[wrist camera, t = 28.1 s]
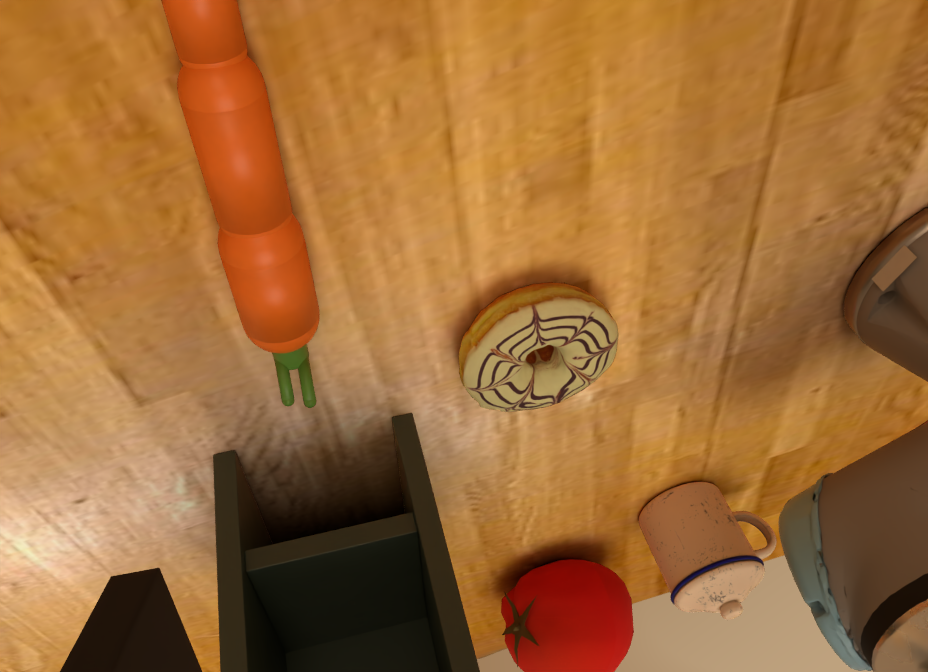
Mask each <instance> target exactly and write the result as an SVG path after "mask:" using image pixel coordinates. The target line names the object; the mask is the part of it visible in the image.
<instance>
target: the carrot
mask: <svg viewBox="0 0 928 672" xmlns="http://www.w3.org/2000/svg"><path fill="white" fill-rule="evenodd" d="M161 1H162V4H163V7H164V11H165V14H166V17H167V21H168V24H169V28H170V31H171V34H172V38H173V41H174V44H175V48H176V51H177V54H178V57H179V59H180V62H181V63H182V65H183V66H182V67H181V69H180V72H179V76H178V81H177V90H178V95H179V100H180V103H181V107H182V110H183V113H184V116H185V119H186V123H187V126H188V129H189V132H190V136H191V139H192V142H193V145H194V148H195V152H196V155H197V158H198V161H199V165H200V168H201V171H202V174H203V178H204V181H205V184H206V187H207V190H208V194H209V197H210V200H211V203H212V207H213V210H214V213H215V216H216V219H217V222H218V224H219V227H220V229H219V232H218V248H219V253H220V257H221V260H222V263H223V266H224V269H225V272H226V275H227V278H228V282H229V285H230V288H231V291H232V294H233V297H234V300H235V303H236V307H237V310H238V313H239V316H240V319H241V322H242V325H243V328H244V330H245V332H246V334H247V336H248V337H249V338H250V340H251V341H252V342H253V343H254V344H255V345H257V346H258V347H260V348H262V349H263V350H266V351H268V352H272V354H273V357H274V361H275V366H276V371H277V377H278V382H279V388H280V393H281V399H282V403H283V404H284V405H285V406H291V405H292V404H293V403H294V395H293V389H292V384H291V378H290V373H289V370H294V369H297V368H298V372H299V378H300V383H301V389H302V395H303V401H304V405H305V406H306V407H308V408H312V407H314V406H315V404H316V397H315V391H314V386H313V380H312V374H311V369H310V363H309V352H308V348H307V343H308V342H309V341H310V340H311V339H312V337H313V336H314V334H315V332H316V330H317V327H318V323H319V306H318V302H317V297H316V292H315V287H314V282H313V278H312V273H311V268H310V263H309V258H308V254H307V249H306V244H305V239H304V235H303V232H302V229H301V226H300V224H299V222H298V221H297V219H296V218H295V216H294V215H293V214H292V208H291V202H290V197H289V193H288V188H287V183H286V179H285V174H284V169H283V165H282V160H281V156H280V151H279V146H278V142H277V137H276V132H275V128H274V123H273V118H272V114H271V109H270V105H269V100H268V95H267V91H266V86H265V82H264V80H263V77H262V74H261V72H260V70H259V69H258V67H257V66H256V65H255V63H254V62H253V61H252V60H251V59H250V58H249V57H248V56H247V43H246V39H245V34H244V30H243V25H242V21H241V16H240V12H239V8H238V3H237V0H161Z"/></svg>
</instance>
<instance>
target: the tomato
mask: <svg viewBox="0 0 928 672" xmlns="http://www.w3.org/2000/svg"><path fill="white" fill-rule="evenodd" d="M501 613H502V616H503V618H504V620H505V622H506V630H505V631H504V633H503V634H502V635H505V642H506V645H507V647H508V649H509V652H510V654H511V656H512V658H513V660H514V662H515V663H516V664H517V666H519V667H520V668H521V669H522V670H523V671H524V672H614V671H615V670H616V668H617V667H618V666H619V664H620V663H621V661H622V660H623V659H624V657H625V656H626V654H627V652H628V649H629V647H630V645H631V641H632V636H633V633H634V630H633V616H632V602H631V597H630V595H629V593H628V590H627V588H626V586H625V583H624V582H623V581H622V580H621V579H620V578H619V576H618V575H617V574H616V573H615V572H613V571H612V570H610V569H608V568H606V567H605V566H603V565H601V564H598V563H594V562H590V561H586V560H573V559H566V560H558V561H555V562H552V563H549V564H546V565H544V566H541V567H538V568H535V569H532V570H531V571H530V572H528V573H527V574H525V575H524V576H522V577H521V578H520V579H519V580H518V583H517V585H516V586H515V587H514V588H513V589H512V590H511V591H510V592H508V593H507V594H506V593H505V596H504V597H503V599H502V607H501Z"/></svg>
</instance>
